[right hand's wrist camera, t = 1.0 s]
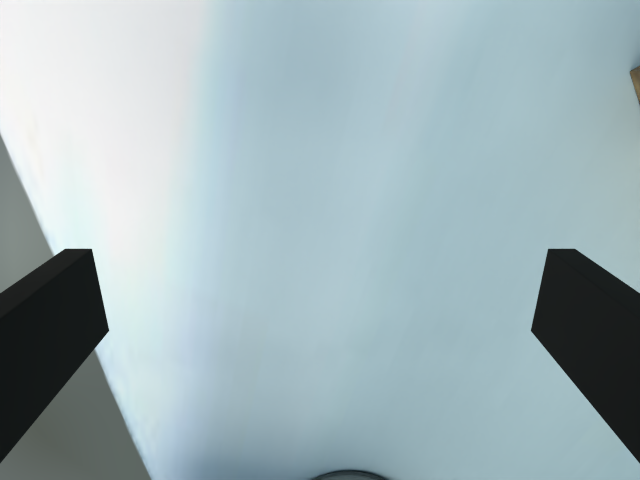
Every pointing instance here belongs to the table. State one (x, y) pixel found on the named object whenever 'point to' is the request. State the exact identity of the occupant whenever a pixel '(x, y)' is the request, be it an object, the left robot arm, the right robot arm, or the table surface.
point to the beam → (636, 80)
